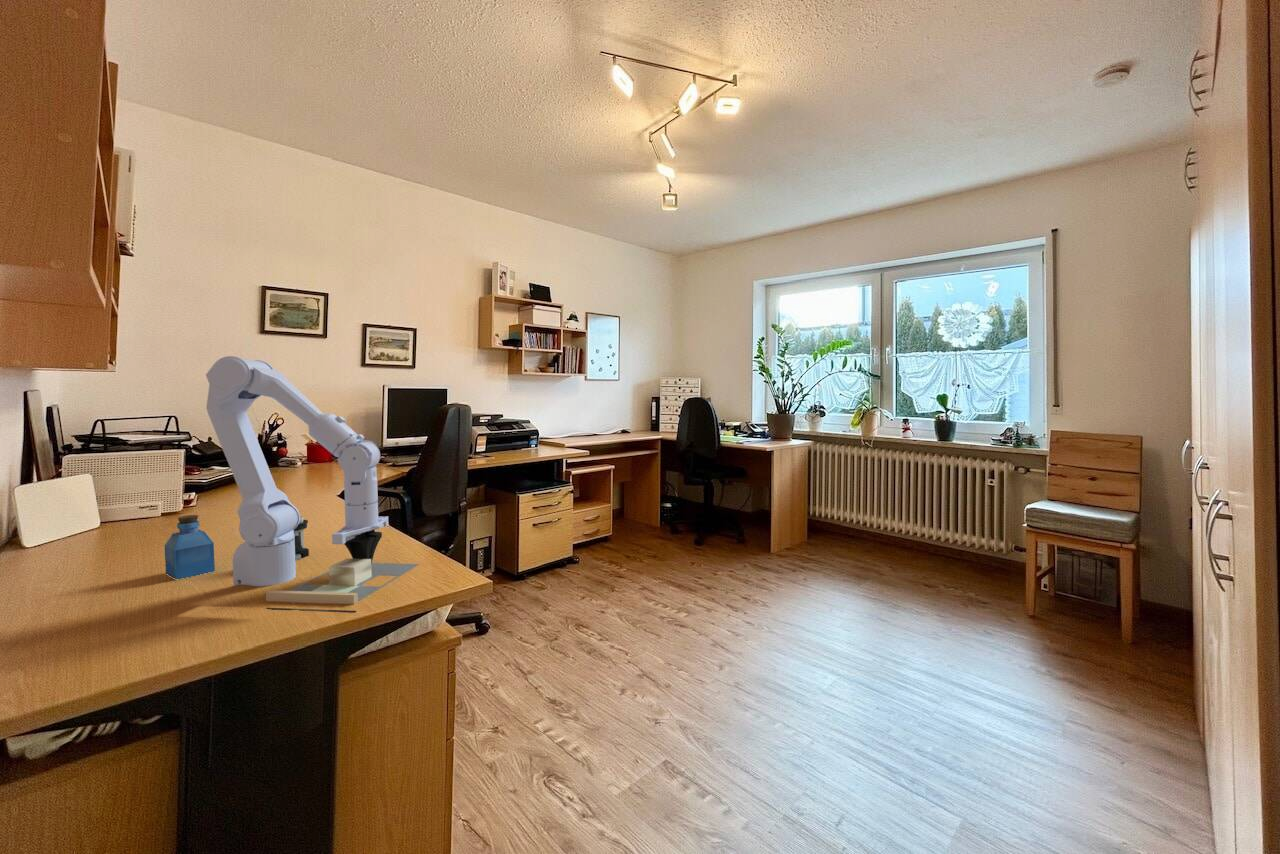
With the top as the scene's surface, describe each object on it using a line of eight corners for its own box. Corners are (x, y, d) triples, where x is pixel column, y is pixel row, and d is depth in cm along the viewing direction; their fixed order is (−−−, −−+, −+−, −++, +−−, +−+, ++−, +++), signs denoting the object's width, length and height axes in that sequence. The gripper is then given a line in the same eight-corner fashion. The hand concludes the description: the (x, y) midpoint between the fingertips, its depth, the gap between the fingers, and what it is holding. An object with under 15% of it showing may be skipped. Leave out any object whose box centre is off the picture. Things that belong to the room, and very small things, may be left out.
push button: (282, 569, 106) (280, 523, 106) (268, 565, 109) (266, 520, 108) (314, 560, 112) (312, 516, 112) (300, 557, 115) (298, 514, 114)
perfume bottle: (214, 571, 105) (212, 515, 104) (176, 580, 100) (173, 521, 99) (203, 566, 108) (201, 512, 108) (165, 574, 103) (163, 517, 103)
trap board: (266, 609, 85) (265, 592, 85) (348, 569, 106) (348, 555, 106) (354, 612, 84) (353, 595, 84) (419, 571, 105) (419, 557, 105)
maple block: (329, 585, 93) (328, 566, 92) (347, 575, 98) (346, 558, 97) (354, 585, 92) (354, 567, 92) (371, 576, 97) (371, 559, 97)
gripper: (356, 510, 91) (359, 583, 91) (401, 496, 105) (403, 559, 106) (320, 510, 91) (322, 582, 92) (369, 495, 106) (371, 558, 106)
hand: (363, 570), depth 99 cm, fingers closed
